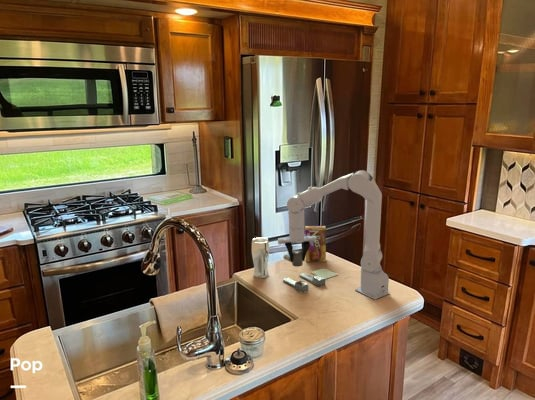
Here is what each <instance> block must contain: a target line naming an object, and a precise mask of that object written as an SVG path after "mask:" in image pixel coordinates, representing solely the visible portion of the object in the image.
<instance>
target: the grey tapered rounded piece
mask: <svg viewBox="0 0 535 400" xmlns="http://www.w3.org/2000/svg"><path fill="white" fill-rule="evenodd" d="M292 256H293V262H291V261H290V256H289V254H286V253H284V254H283V256H282V257H283V258H282V259H284V260H286V261H288V262H290V263H291V264H292V266H293V267H295V268H298V267H303V262H304V261H303V252H302V250H294V251H293V250H292Z"/></svg>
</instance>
